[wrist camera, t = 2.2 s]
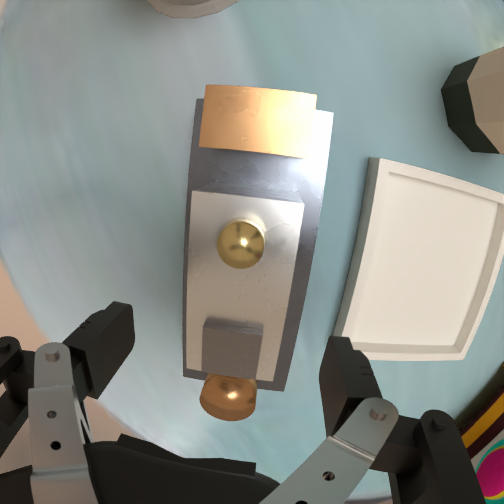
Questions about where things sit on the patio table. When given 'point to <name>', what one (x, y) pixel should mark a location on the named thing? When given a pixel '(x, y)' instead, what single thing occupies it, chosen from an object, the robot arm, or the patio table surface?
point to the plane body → (266, 176)
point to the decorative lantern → (488, 448)
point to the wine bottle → (477, 102)
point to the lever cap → (239, 277)
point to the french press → (190, 7)
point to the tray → (420, 264)
